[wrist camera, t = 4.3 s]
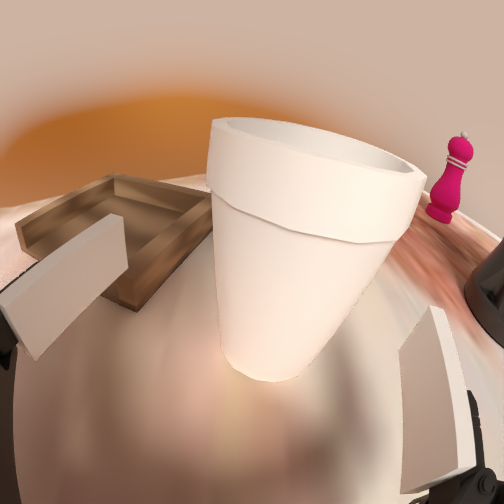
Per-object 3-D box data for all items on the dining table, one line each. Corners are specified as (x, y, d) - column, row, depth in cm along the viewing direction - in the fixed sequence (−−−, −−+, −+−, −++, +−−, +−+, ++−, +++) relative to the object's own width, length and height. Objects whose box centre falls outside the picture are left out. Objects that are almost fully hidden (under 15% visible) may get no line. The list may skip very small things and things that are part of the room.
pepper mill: (435, 222, 46) (466, 129, 36) (418, 206, 52) (443, 121, 42) (456, 227, 47) (486, 142, 37) (439, 212, 53) (464, 133, 43)
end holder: (114, 193, 34) (113, 172, 32) (221, 221, 31) (223, 196, 30) (21, 250, 21) (14, 223, 19) (136, 312, 18) (131, 279, 16)
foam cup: (179, 388, 14) (176, 134, 7) (210, 286, 22) (229, 112, 15) (342, 408, 14) (469, 204, 7) (327, 305, 22) (383, 146, 15)
